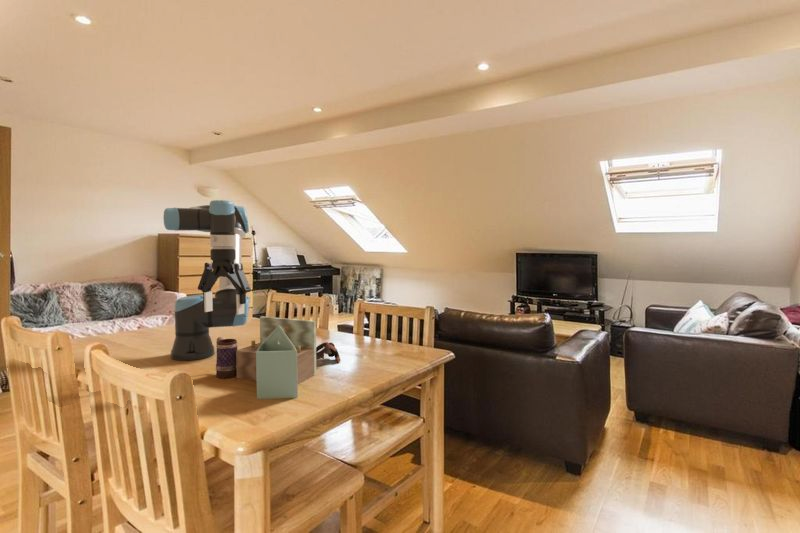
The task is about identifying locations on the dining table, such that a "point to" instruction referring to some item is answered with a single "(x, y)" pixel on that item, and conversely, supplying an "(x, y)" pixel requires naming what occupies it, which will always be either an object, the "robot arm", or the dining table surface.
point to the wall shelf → (296, 331)
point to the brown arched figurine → (327, 351)
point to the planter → (276, 367)
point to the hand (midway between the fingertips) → (224, 312)
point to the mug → (226, 358)
